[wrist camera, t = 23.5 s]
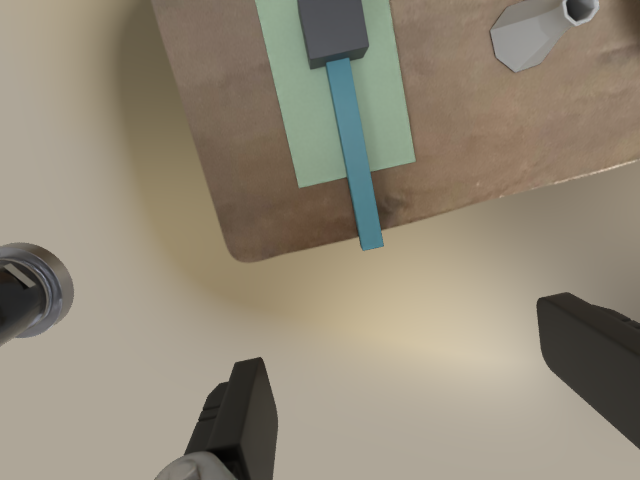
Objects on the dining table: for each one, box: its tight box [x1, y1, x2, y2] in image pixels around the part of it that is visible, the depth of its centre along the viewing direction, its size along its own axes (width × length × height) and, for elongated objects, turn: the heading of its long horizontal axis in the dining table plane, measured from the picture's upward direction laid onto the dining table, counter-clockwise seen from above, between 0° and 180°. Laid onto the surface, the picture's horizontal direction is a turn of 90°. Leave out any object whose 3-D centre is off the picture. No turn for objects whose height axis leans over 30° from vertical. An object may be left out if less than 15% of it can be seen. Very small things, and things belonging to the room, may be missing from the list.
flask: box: [490, 0, 599, 72], centre depth 40 cm, size 7×7×10 cm
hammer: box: [297, 0, 384, 251], centre depth 44 cm, size 28×6×5 cm, turn 12°
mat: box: [255, 0, 416, 188], centre depth 45 cm, size 22×14×1 cm, turn 13°
